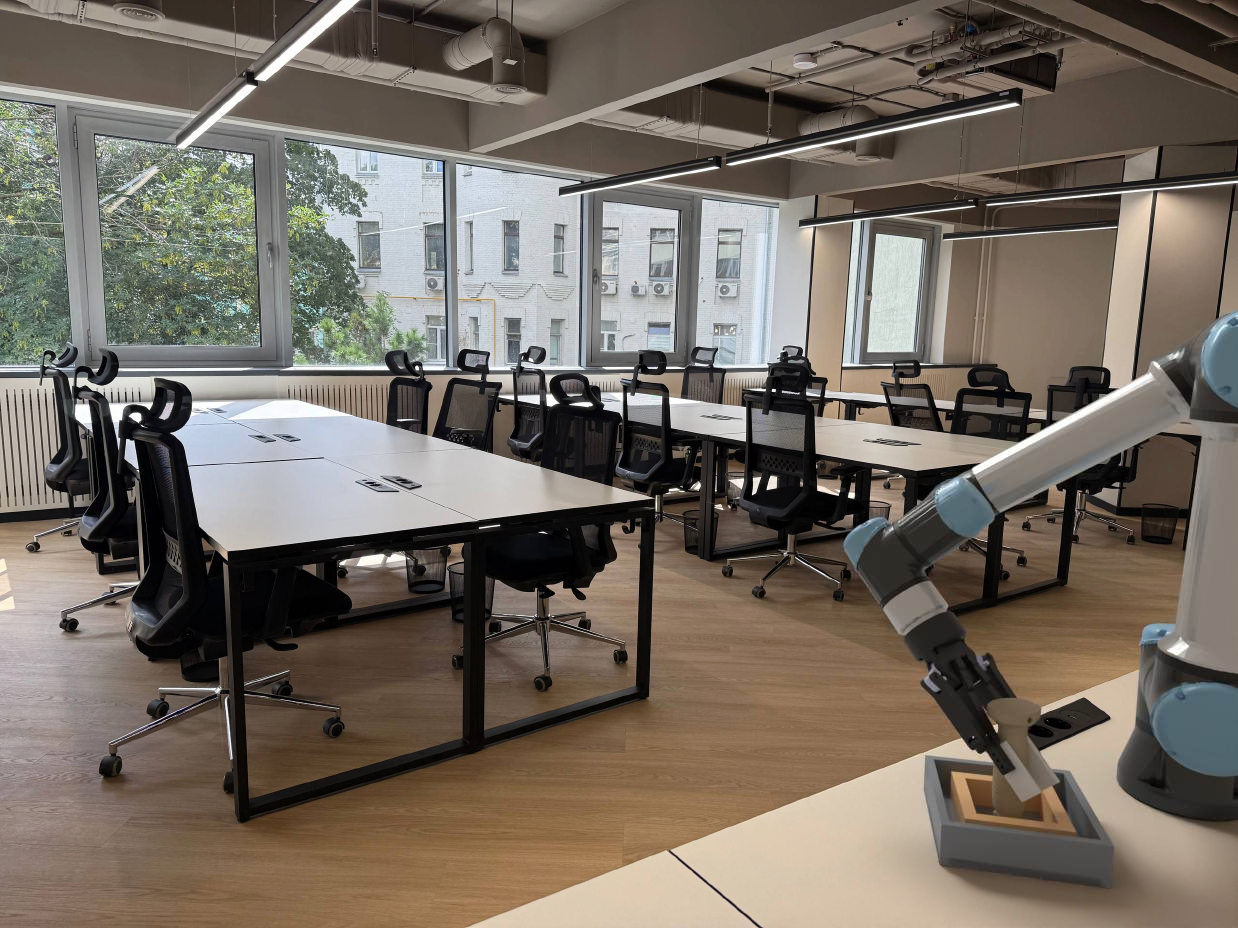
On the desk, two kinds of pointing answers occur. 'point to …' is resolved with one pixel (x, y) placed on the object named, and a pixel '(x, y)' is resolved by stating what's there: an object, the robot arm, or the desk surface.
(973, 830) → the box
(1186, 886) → the desk surface
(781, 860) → the desk surface
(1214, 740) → the robot arm
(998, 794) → the handle
